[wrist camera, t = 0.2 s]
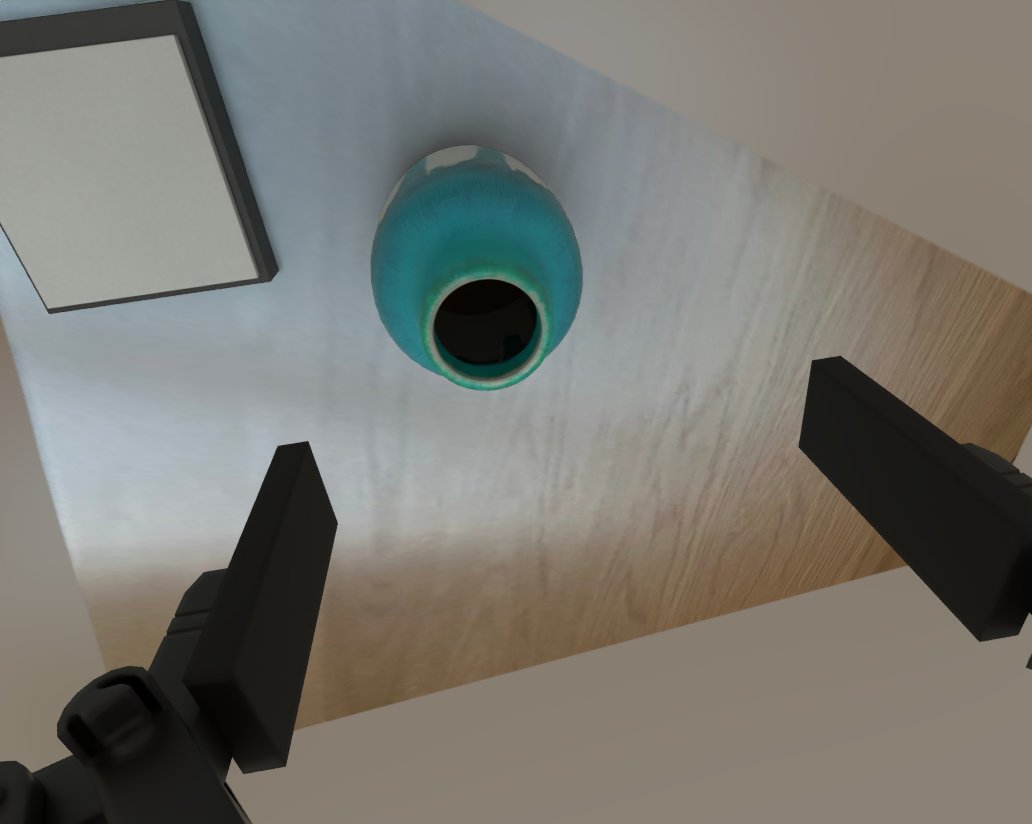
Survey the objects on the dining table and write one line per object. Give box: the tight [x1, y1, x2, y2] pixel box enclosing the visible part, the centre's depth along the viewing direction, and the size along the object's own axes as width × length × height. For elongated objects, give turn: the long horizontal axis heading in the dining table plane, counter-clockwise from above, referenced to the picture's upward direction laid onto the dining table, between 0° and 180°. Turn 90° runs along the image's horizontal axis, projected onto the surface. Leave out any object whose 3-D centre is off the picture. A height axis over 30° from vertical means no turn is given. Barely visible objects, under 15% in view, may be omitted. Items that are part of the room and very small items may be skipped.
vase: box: [371, 145, 583, 391], centre depth 32 cm, size 11×11×19 cm
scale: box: [0, 0, 278, 314], centre depth 35 cm, size 15×14×3 cm
